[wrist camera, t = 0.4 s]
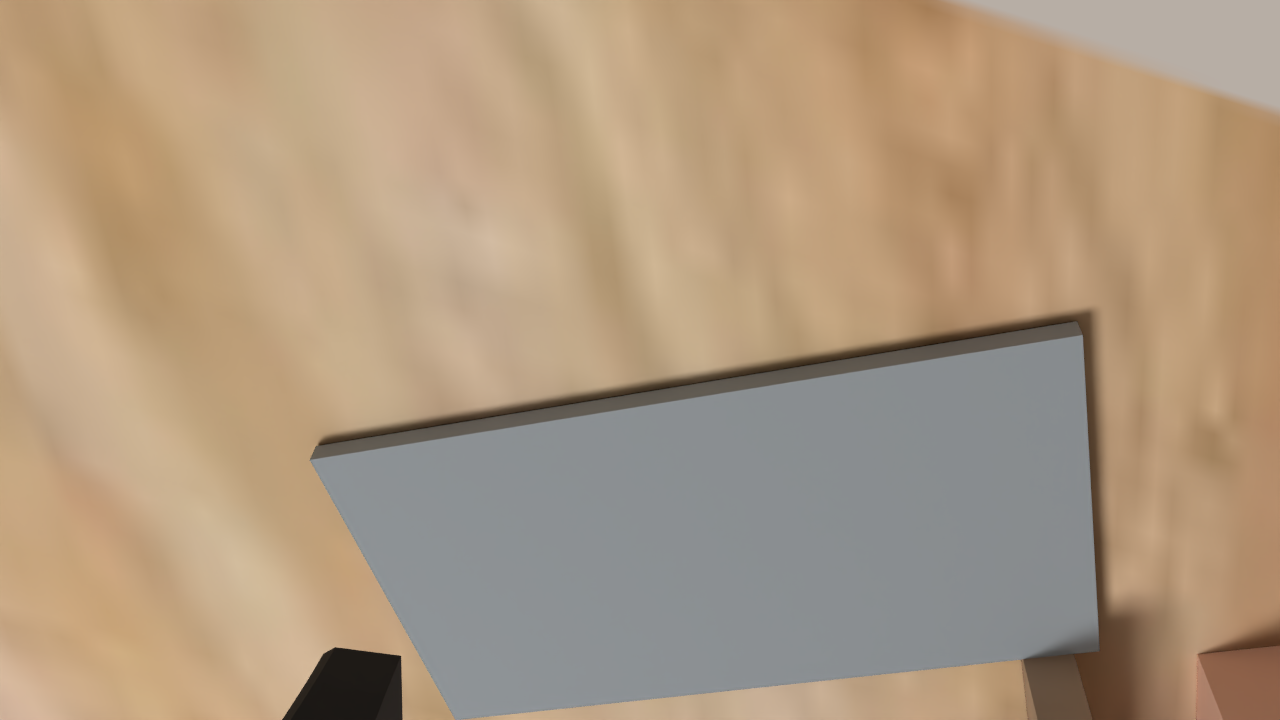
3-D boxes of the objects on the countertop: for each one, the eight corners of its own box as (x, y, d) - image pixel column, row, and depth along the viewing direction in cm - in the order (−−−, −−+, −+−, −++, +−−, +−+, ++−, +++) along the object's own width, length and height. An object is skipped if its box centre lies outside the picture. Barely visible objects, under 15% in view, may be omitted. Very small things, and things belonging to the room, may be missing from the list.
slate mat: (1095, 635, 24) (1099, 651, 24) (458, 705, 27) (455, 720, 27) (1077, 321, 19) (1083, 334, 19) (316, 446, 22) (309, 459, 22)
